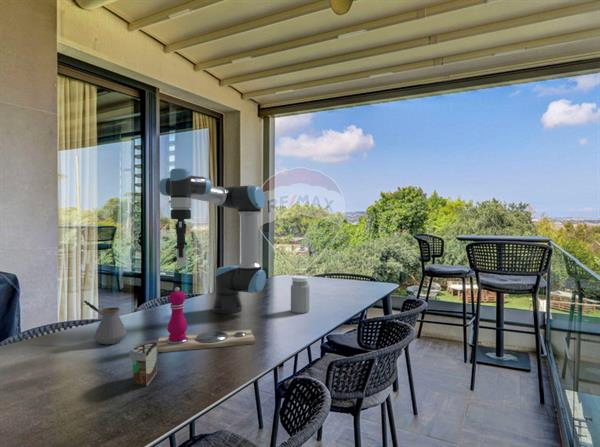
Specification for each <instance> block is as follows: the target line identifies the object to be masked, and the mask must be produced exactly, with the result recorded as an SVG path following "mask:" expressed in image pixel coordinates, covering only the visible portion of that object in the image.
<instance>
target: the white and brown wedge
mask: <svg viewBox="0 0 600 447" xmlns="http://www.w3.org/2000/svg"><path fill="white" fill-rule="evenodd" d="M157 346H158V340H157V339H152V340H146V341H142V342H139V343H136V344H134V345H133V346H132V347H131V349H130V351H129V359H131V363H132V373H133V383H134V385H136V386H138V387H148V385H150V383H151V381H152V380H153V379H154V378H155V376H156V375H157V371H158V353H157Z"/></svg>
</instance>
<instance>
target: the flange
mask: <svg viewBox="0 0 600 447" xmlns="http://www.w3.org/2000/svg"><path fill="white" fill-rule="evenodd" d="M187 341H188V337H186V339H185V340H183V341H178V342H172V341H169V338H168V339H167V340H166V343H167V344H182V343H185V342H187Z"/></svg>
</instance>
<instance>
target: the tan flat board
mask: <svg viewBox="0 0 600 447" xmlns="http://www.w3.org/2000/svg"><path fill="white" fill-rule="evenodd" d="M221 332H224V333H226V334H227V335H228V337H227V339H225V340H223V341H220V342H215V343H202V342H198V341H197V340H196V337H197V336H198V335H199V334H202V332H201V333H199V332H198V333H189V334H186V337H188V341H187V342H185V343H182V344H167V343H166V340H167V339H168V338H169V335H166V336H163V335H162V336H158V337H159V338H158V340H157V342H158V346H157V354H159V352H162V353H171V351H172V352H180V351H191V350H200V349H202V350H203V349H210V348H211V349H212V348H222V347H232V346H233V347H235V346H243V345H244V346H245V345H255V344H256V339H255V338H256V337H255V336H254V334H253V332H252V329H251V328H248V329H237V330H235V329H234V330H225V331H221ZM237 332H245V333H246V336H244V337H235V333H237Z"/></svg>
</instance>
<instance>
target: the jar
mask: <svg viewBox="0 0 600 447" xmlns="http://www.w3.org/2000/svg"><path fill="white" fill-rule="evenodd" d="M291 280H292V284H291V286H290V311H291V312H292V313H294V314H307V313H309V311H310V309H311V308H310V301H311V300H310V292H311V291H310V289H311V288H310V287H311V286H310V285H309V277H308V276H307V275H294V276H293V275H292V276H291Z"/></svg>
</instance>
